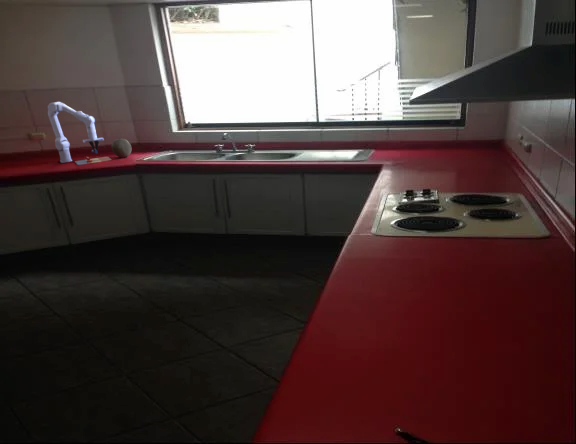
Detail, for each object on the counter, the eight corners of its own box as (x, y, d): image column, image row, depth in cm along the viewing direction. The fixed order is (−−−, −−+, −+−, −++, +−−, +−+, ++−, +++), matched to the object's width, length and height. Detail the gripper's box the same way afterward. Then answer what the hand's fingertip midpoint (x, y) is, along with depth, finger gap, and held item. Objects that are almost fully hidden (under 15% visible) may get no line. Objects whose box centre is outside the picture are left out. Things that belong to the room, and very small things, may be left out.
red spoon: (85, 160, 320) (84, 157, 319) (90, 159, 322) (89, 156, 321) (87, 162, 311) (86, 159, 310) (93, 162, 313) (92, 158, 312)
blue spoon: (99, 153, 315) (99, 149, 314) (94, 154, 313) (93, 150, 312) (96, 151, 324) (96, 147, 323) (91, 151, 322) (90, 148, 321)
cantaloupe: (114, 157, 329) (110, 138, 323) (133, 155, 332) (129, 136, 327) (113, 160, 316) (109, 141, 311) (132, 158, 320) (129, 139, 314)
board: (74, 161, 319) (74, 161, 319) (107, 156, 331) (107, 156, 331) (77, 165, 306) (77, 164, 306) (112, 160, 318) (111, 159, 318)
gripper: (82, 134, 305) (86, 153, 310) (103, 132, 312) (106, 150, 317) (80, 133, 310) (84, 151, 315) (101, 131, 318) (104, 149, 323)
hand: (95, 151), depth 317 cm, fingers closed on blue spoon
